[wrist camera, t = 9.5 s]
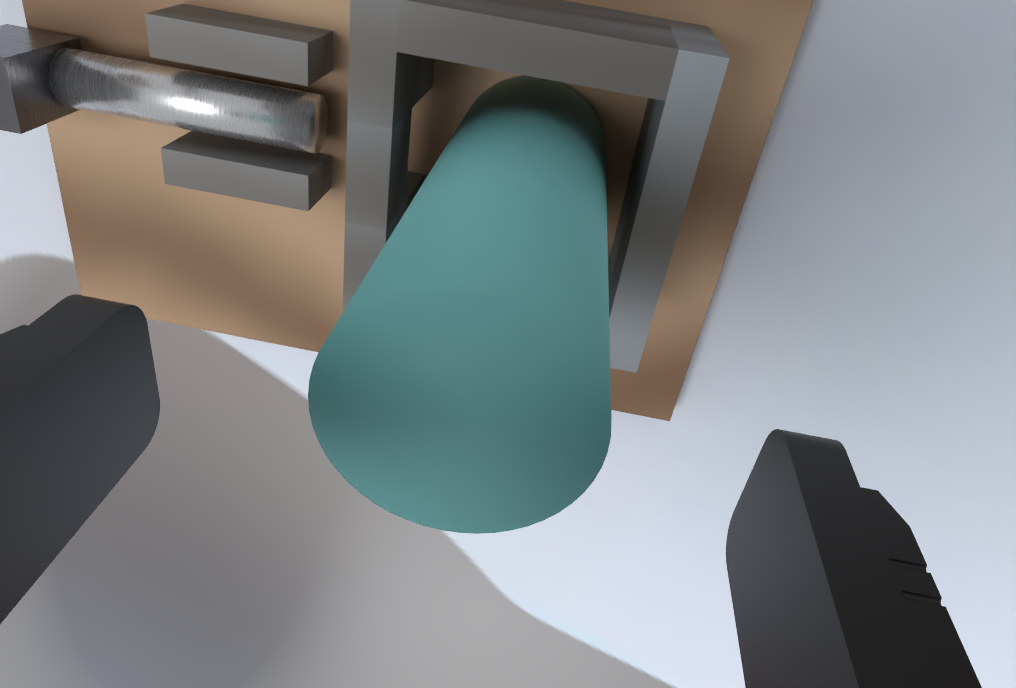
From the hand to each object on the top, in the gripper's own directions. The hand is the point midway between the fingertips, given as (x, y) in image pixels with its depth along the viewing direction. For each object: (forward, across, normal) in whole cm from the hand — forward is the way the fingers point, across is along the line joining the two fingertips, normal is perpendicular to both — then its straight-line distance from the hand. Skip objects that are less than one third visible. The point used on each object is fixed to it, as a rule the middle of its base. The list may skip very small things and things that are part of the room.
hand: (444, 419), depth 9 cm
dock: (+13, +4, 0) cm, 14 cm away
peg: (+12, 0, 0) cm, 12 cm away
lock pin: (+12, +10, 0) cm, 16 cm away
